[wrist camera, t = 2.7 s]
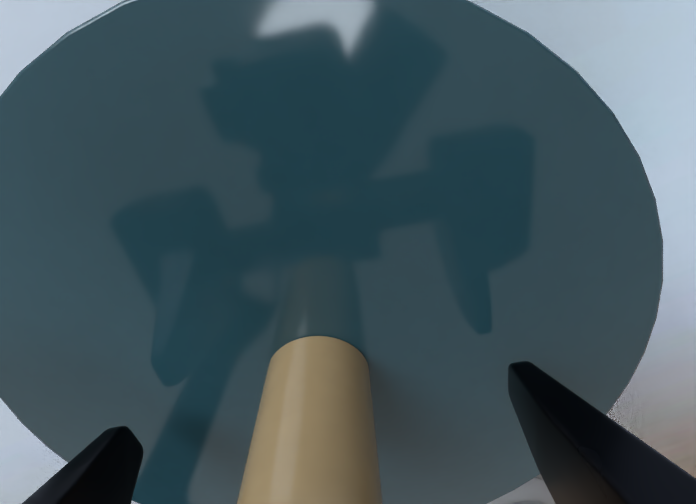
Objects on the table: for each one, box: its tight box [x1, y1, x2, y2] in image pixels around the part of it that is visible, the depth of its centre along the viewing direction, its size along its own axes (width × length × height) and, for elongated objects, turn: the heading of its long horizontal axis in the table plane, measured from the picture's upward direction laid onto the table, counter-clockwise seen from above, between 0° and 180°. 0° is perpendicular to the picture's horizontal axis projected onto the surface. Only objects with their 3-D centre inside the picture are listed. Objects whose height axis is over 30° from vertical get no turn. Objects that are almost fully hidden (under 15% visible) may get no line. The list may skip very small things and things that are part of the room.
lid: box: [0, 0, 663, 504], centre depth 8 cm, size 17×17×5 cm
